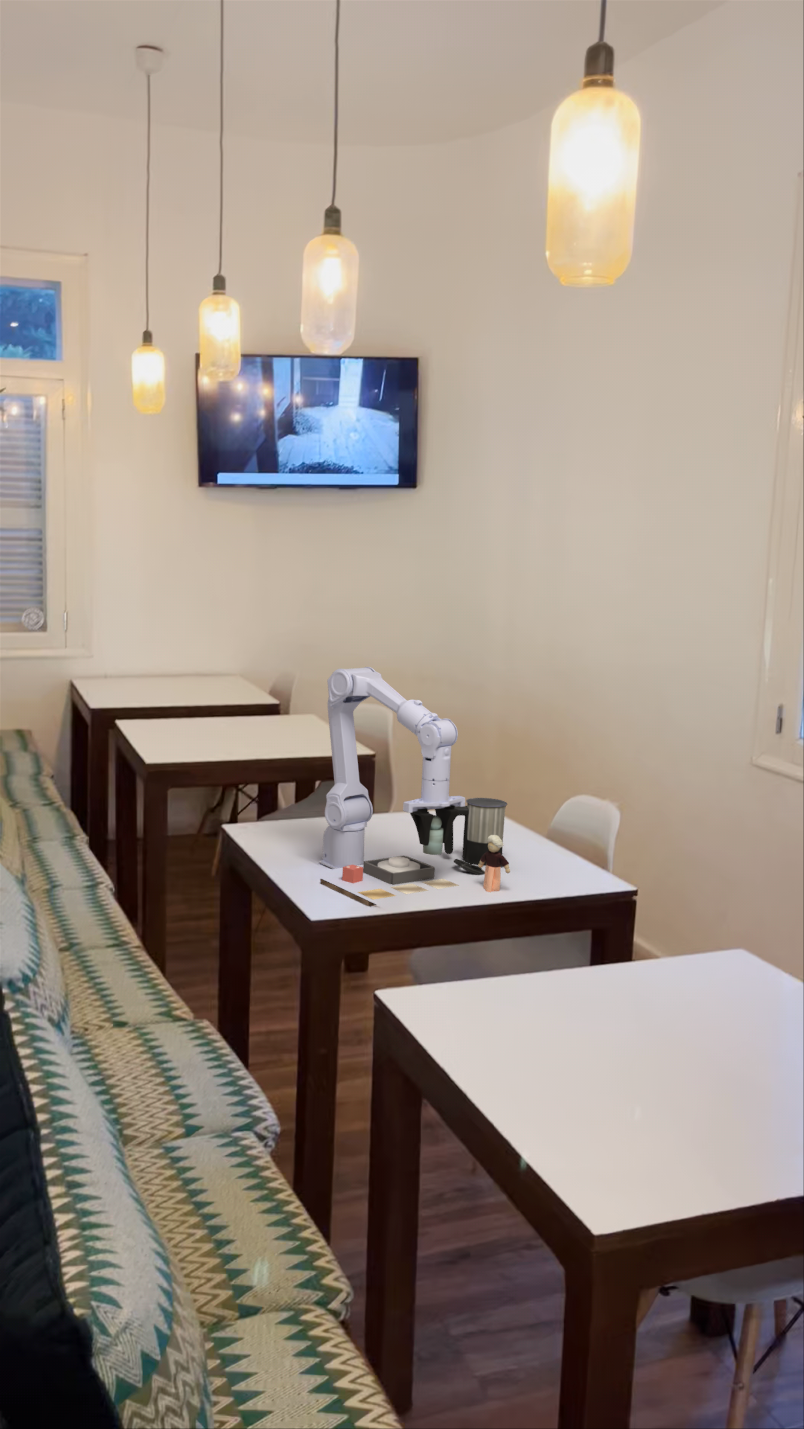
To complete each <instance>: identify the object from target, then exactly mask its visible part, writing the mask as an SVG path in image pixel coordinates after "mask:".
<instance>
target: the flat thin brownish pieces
mask: <svg viewBox="0 0 804 1429" xmlns="http://www.w3.org/2000/svg"><path fill="white" fill-rule="evenodd" d="M421 883H422V884H423V885H427V886H429V887H432V888H434V889H437V890H440V889H445V888H446V889H447V888H454V887H458V886H460V884H457V883H454V882H452V881H449V880H447V879H445V878H439V879H430V880H424V881H421ZM320 884H321V885H323V886H325V887H327V888H329V889H331V890H333V891H335V892H336V893H339V894H341V895H344V896H345V897H347V898H350V899H352V900H354V901H356V902H358V903H360V904H363V905H364V906H367V907H372V906H377V904H376V903H375V902H373V901H370V900H367V899H365V898H363V897H362V896H364V897H366V898H368V899H371V900H379V899H385V898H393V897H396V896H397V895H396V894H393V893H391V892H389V891H387V890H385V889H382V888H376V889H370V890H369V889H368V890H364V891H363V890H362V891H358V892H357V893H358V894H360V895H362V896H359V895H357V894H355V893H353V892H351V891H349V890H346V889H345V888H342V887H341V886H338V885H337V884H336V885H335V884H333V883H331V882H329V881H327V880H325V879H323V878H320ZM390 889H393V890H395V891H398V892H400V893H402V894H405V895H408V894H409V895H410V894H416V893H423V892H427V891H429V889H426V888H425V887H421V886H419V885H417V884H415V883H405V884H399V885H392V886H390Z"/></svg>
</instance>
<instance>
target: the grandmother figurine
mask: <svg viewBox="0 0 804 1429" xmlns="http://www.w3.org/2000/svg"><path fill="white" fill-rule="evenodd" d="M487 841H488V849H489V850H490V851H487V852H486V853H484V854H483V856H482V857H481V859H480V862H479V864H478V865H477V866H478V867H480V868H483V867H485V868H484V871H485V874H484V877H483V889H484V890H485V892H486V893H487V892H488V893H492V892H500V889H501V888H500V887H501V879H502V877H501V872H502V871H501V865H502V866H503V867H502V868H503V869H504V870H505V873H506V874H509V873H511V869H510V862H509V861H508V860H507V858H506V857H505V856H504V855H503V854H502V855H501V854H500V853H499V852H498V851H499V849H500V848H501V847H502V846H503V847H504V845H505V844H504V841H503V842H502V840H501V839H500V838H499V836H497V835H490V836H489V837H488V840H487ZM503 847H502V848H503ZM485 862H486V866H483V864H484V863H485Z"/></svg>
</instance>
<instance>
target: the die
mask: <svg viewBox="0 0 804 1429" xmlns="http://www.w3.org/2000/svg"><path fill="white" fill-rule="evenodd" d="M363 880H364V872H363V866H361V865H358V866H356V865H349V866H345V867H343V868H342V876H341V881H342V882H343V881H344V882H348V883H350V884H356V883H359V882H363Z"/></svg>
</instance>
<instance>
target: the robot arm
mask: <svg viewBox="0 0 804 1429" xmlns="http://www.w3.org/2000/svg"><path fill="white" fill-rule="evenodd" d="M327 689H328V691H327V692H328V698H327V716H328V725H329V726H328V728H329V735H330V736H329V739H330V746H331V748H330V749H331V759H332V760H331V761H332V770H333V779H334V780H333V781H334V785H332V787H331V788H330V790H329V791H328V792H327V793H326V794H325V798H326V803H325V804H326V805H325V807H324V818H325V821H326V822H327V824H328V826H327V827H326V829H325V831H324V833H323V839H322V840H323V841H322V859H321V860H319V864H322V865H323V866H326V867H327V868H330V869H333V870H335V869H343V867H345V866H349V865H356V866H363V863H364V861H365V860H364V859H365V858H364V856H365V853H364V852H365V834H366V833H365V832H366V831H365V829H366V827H368V822H370V820H371V819H372V817H373V814H374V808H373V804H372V802H371V799H370V796H369V790H368V789H367V788H366V787H365V786H364V785H363V784H362V783H361V781H360V772H359V763H358V762H359V760H358V751H357V740H356V738H357V737H356V728H355V718H354V717H355V716H354V711H355V710H356V709H357V707H359V705H360V704H361V703H362V702H364V701H366V700H367V699H369V698H370V697H372V698H373V699H374V700H376V701H378V702H379V703H381V704H382V705H383V706H385V707H386V708H388V709H389V710H391V711H393V712H394V713H396V720H397V722H398V723H400V724H401V725H402V726H403V727H405V729H407V730H408V731H410V732H411V733H413V734H414V735H415V736H416V737H417V741H418V744H419V745H420V749H421V750H420V753H421V756H422V765H421V766H422V767H421V768H422V770H421V771H422V772H421V790H420V791H421V792H420V797H419V798H415V799H412V800H408V801H407V800H406V801H403V804H402V805H403V806H402V811H403V812H405V813H408V814H410V816H411V818H412V819H413V823H414V824H415V828H416V832H417V836H418V841H419V844H420V845H422V846H423V845H425V846H428V844H429V837H430V827H431V823H432V819H433V817H434V814H433V813H430V811H429V810H434V812H435V815H436V816H438V817H439V818H440V819H441V821H442V825H441V828H443V844H444V843H446V840H447V837H448V834H449V831H450V828H451V826H452V824H453V825H454V821H455V819H456V818H457V817H458V816H457V815H458V809H455V807H456V806H460V807H464V806H466V797H464V796H462V795H451V796H450V779H451V777H450V776H451V762H452V761H451V758H452V747H453V746H454V745H455V744H456V742H457V740H458V736H459V735H458V734H459V733H458V732H459V731H458V728H457V726H456V724H455V723H454V722H453V721H452V719H450V718H441V717H439V715H438V714H437V713H436V712H432V711H430V710H429V709H428V708H426V706H424V705H423V704H424V703H423V701H421V700H420V699H409V700H407V699H406V698H405V697H404V696H402V695H401V694H400V693H399V692H398V691H397V690H395V688H393V687H392V686H391V685H390V684H389V683H388V682H387V681H385V680H384V678H383V676H382V673H380V672H378V671H376V670H375V669H374V668H373V667H371V666H365V667H355V668H354V667H353V668H337V669H335V670H334V671H333V672H332V673H331V675H330V676H329V677H328V679H327Z"/></svg>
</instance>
